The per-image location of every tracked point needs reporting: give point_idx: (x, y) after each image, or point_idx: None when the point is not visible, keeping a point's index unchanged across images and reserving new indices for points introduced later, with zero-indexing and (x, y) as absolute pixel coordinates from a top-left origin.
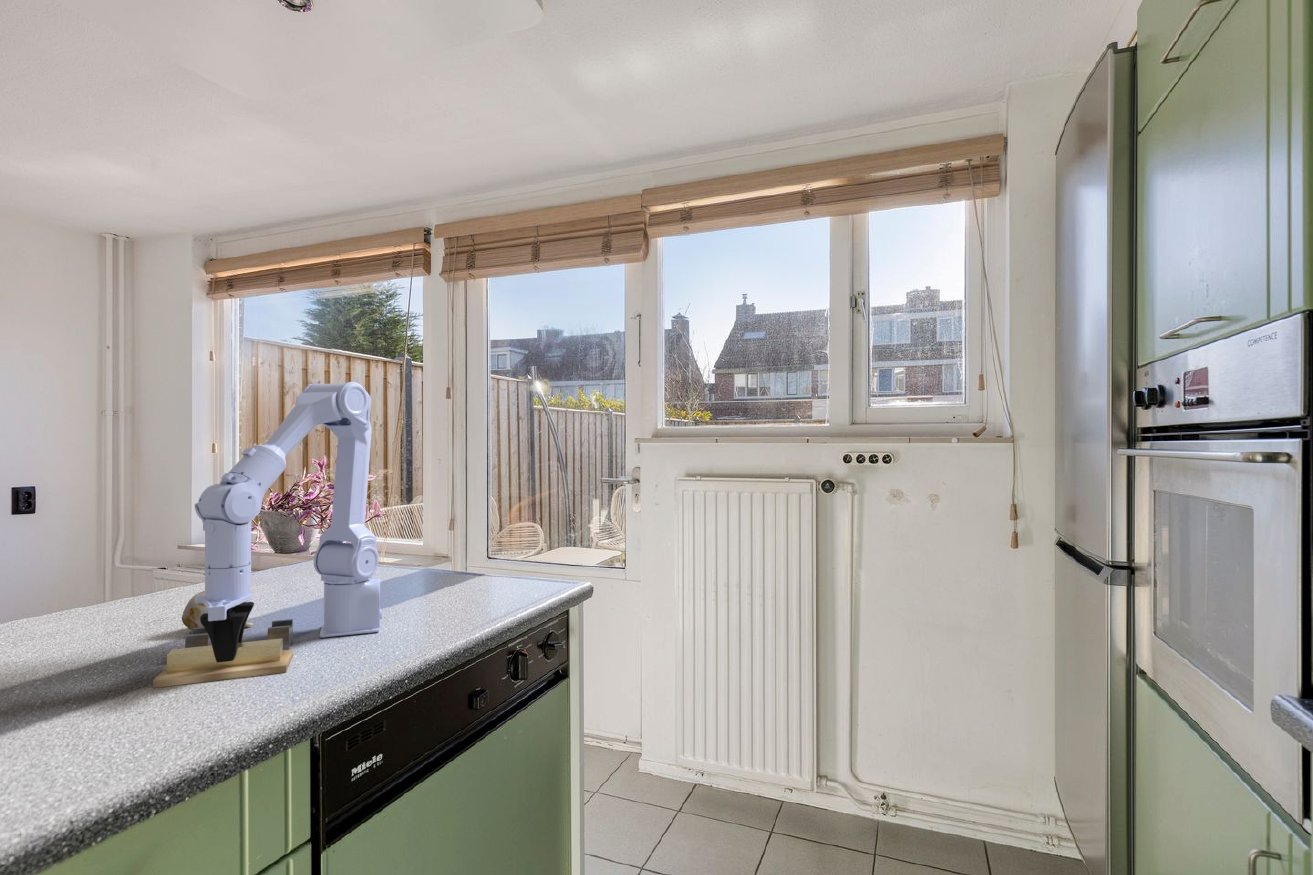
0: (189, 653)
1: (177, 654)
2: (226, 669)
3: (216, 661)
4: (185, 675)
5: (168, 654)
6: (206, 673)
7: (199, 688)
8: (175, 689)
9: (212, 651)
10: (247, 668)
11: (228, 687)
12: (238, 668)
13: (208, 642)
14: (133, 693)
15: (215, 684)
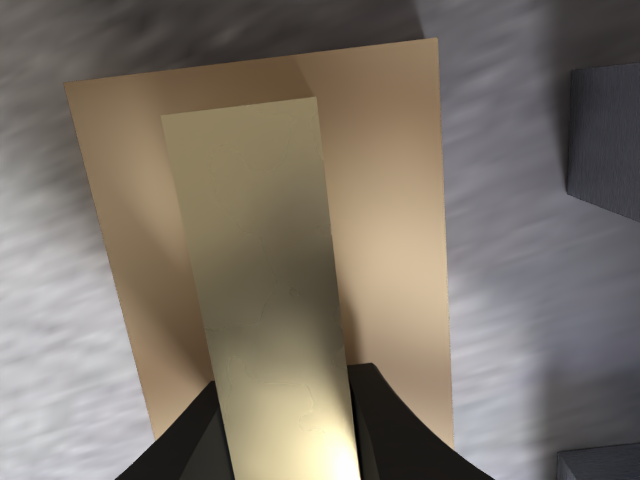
0: (193, 263)
1: (180, 186)
2: None
3: (211, 381)
4: (130, 238)
5: (166, 125)
6: (146, 335)
7: (48, 323)
8: (47, 215)
9: (221, 390)
10: None
11: (46, 438)
12: None
13: (632, 217)
14: (6, 6)
15: (96, 373)
